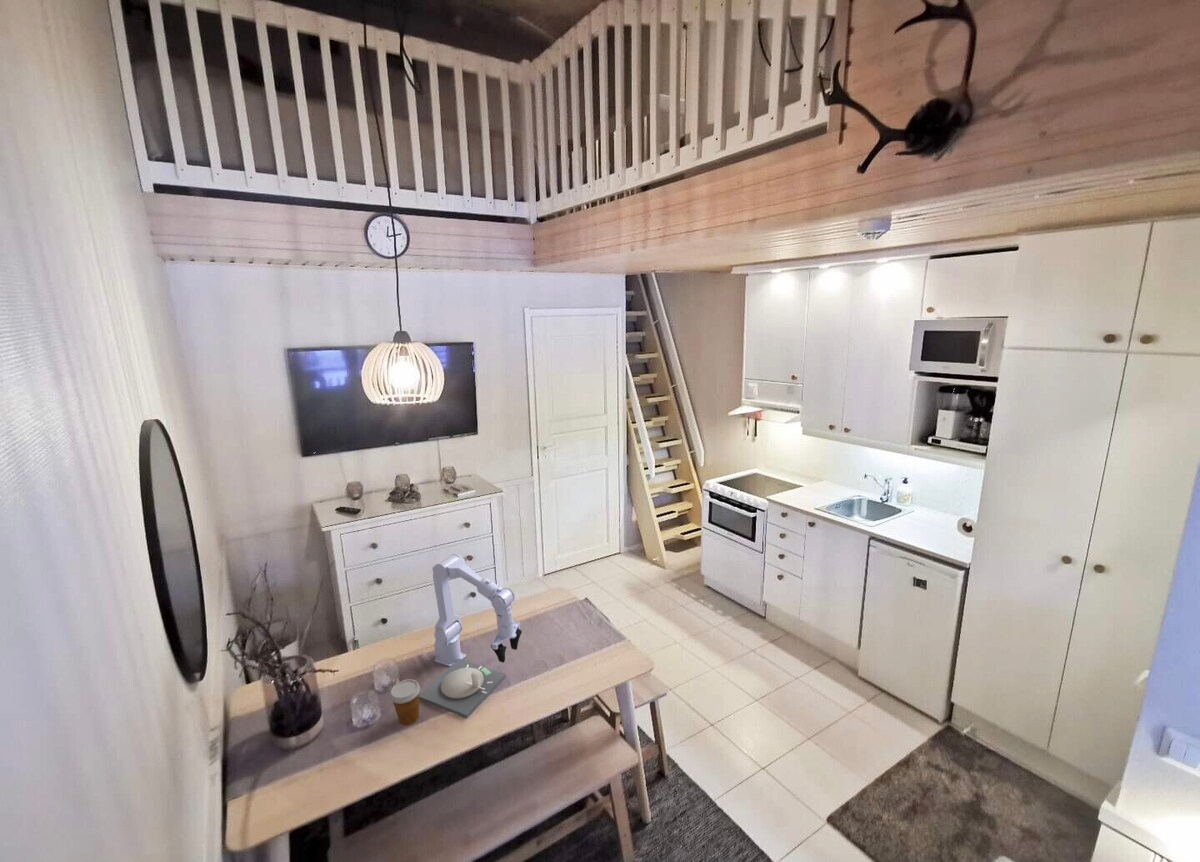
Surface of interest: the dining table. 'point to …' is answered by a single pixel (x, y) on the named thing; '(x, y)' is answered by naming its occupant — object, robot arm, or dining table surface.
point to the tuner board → (462, 705)
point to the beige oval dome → (462, 683)
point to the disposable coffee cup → (406, 701)
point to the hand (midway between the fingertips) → (508, 655)
